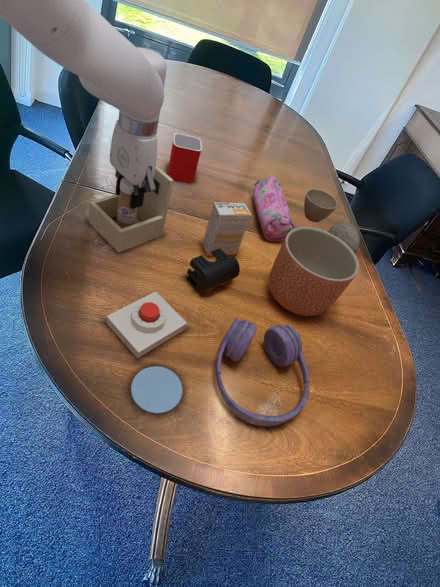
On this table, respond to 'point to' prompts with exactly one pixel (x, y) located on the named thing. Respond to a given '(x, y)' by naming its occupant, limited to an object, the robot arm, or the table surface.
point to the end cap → (212, 271)
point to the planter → (311, 271)
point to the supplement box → (226, 227)
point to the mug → (184, 157)
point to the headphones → (281, 350)
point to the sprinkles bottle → (126, 205)
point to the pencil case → (272, 209)
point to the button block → (145, 325)
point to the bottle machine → (149, 213)
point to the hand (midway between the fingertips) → (129, 199)
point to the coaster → (156, 390)
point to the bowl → (318, 205)
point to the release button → (149, 312)
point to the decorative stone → (346, 234)
